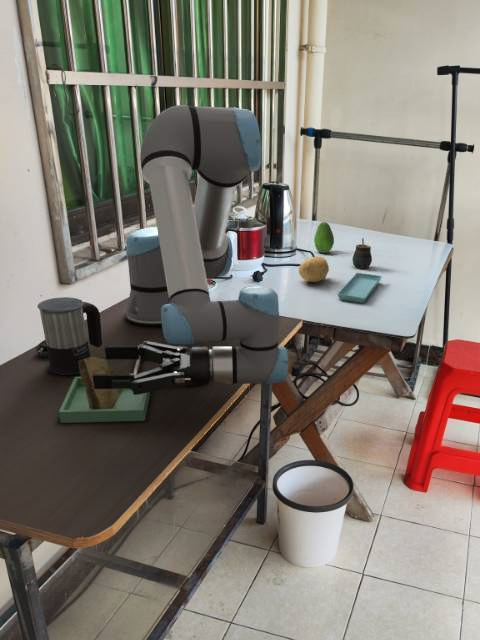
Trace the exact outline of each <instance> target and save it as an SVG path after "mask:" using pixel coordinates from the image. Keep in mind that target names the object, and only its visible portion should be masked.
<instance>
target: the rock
mask: <svg viewBox="0 0 480 640" xmlns="http://www.w3.org/2000/svg"><path fill="white" fill-rule="evenodd" d="M78 363H79V368H80V374H79V375H80V377H82V380H83V382H84V385H85V388H86V395H87V400H88V404H89V407H90V408H91V409H92V410H95V409H110V408H112V407H113V406H114V405H115V403H116V402H117V399H118V396H119V392H120V391H121V390H122V389H94V383H93V374H116V372H115V371H114V370H113V369H112V367H110V365H109V363H108V360H106V359H103V358H100V357H96V356H91V357H89V358H87V359H82V360H80V361H78Z"/></svg>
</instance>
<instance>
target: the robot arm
mask: <svg viewBox="0 0 480 640" xmlns="http://www.w3.org/2000/svg"><path fill="white" fill-rule="evenodd" d="M261 140H262V139H261V133H260V127H259V123H258V119H257V117H256V114H254V112H253V111H251V110H249V109H245V108H238V107H236V106H233V107H223V106H222V107H220V106H219V107H218V106H195V105H186V104H178V105H174V106H173V105H172V106H170V107H168V108H166V109H164V110H163V111H160V113H159V114H158V115H157V116H155V118H154V119H153V120H152V121H151V123H150V124H149V126H148V127H147V129H146V131H145V133H144V136H143V139H142V142H141V146H140V154H139V158H140V159H139V160H140V169H141V175H142V178H143V180H144V181H145V182H146V183H147V184H149V190H150V195H151V201H152V206H153V212H154V213H153V214H154V218H155V223H156V224H155V225H156V226H152V227H145V228H140V229H137V230H134V231H133V232H130V233H129V234H128V235H127V237H126V239H125V242H126V245H125V246H126V251H125V255H126V256H127V265H128V275H129V287H130V292H129V297H128V301H127V304H126V309H125V315H126V316H125V317H126V320H127V321H128V322H130V323H131V324H134V325H137V326H138V325H139V326H143V327H144V326H145V327H161V328H162V333H163V338H164V339H165V341H166V343H168V344H164V343H159V342H153V341H149V340H144V341H143V342H142V343H141V344H139V345H105V346H104V355H105V360H107V361H108V360H109V361H110V360H122V361H123V360H137V359H139V355H140V360H141V359H142V361H143V359H148V361H151V362H153V363H156V364H159V366H158V367H155V368H152V369H149V370H147V371H143V372H140V373H138V374H137V375H133V373H132V372H129V373H115V374H93V383H94V389H131V390H132V391H133V394H134V395H139V394H144V393H148V392H151V393H152V392H156V391H162V390H166V389H170V388H177V387H179V388H180V387H185V386H186V385H185V378H191V383H192V384H194V385H193V386H198V385H197V384H203V385H209V384H210V383H211V382H212V384H213V385H223V386H228V385H236V384H237V385H241V384H242V385H244V384H245V385H246V384H247V385H252V384H253V385H255V384H256V385H257V384H258V385H270V384H271V385H272V384H279V383H284V382H286V380H287V378H288V374H289V356H288V355H289V354H288V351H287V350H288V349H287V348H286V347H285V346H280V345H279V343H278V342H279V341H278V339H279V318H280V312H279V311H280V310H279V309H280V307H279V295H278V293H277V292H276V291H275V290H274V289H272V288H271V287H269V286H263V285H251V286H247V287H243V288H241V289H240V291H239V293H238V299H232V300H231V299H230V300H216V301H213V300H211V297H210V290H209V289H210V288H209V285H208V278H209V279H215V278H219V277H220V278H221V277H225V276H227V275H228V273H229V272H230V270H231V268H232V264H233V256H234V250H233V243H232V239H231V237H230V236H229V234H227V233H226V230H227V227H228V222H229V218H230V214H231V210H232V207H233V202H234V198H235V194H236V191H237V187H238V186H240V185H241V184H243V182H244V181H245V180H246V178H247V175H248V172H251V173H253V172H257V171H259V170H260V168H261V165H262V141H261ZM193 171H196V173H197V174H198V179H197V185H196V192H195V197H194V202H193V198H192V191H191V186H190V181H189V180H190V179H191V177H192V176H193ZM237 340H238V341H239V345H240V346H231V345H230V346H221V345H219V346H217V345H216V346H213V345H212V347H211V349H210V348H209V347H208V346H192V345H194V344H203V343H211V342H212V343H213V342H225V341H227V342H228V341H237ZM176 345H189V346H190V345H191V346H192V347H190V349H189V353H190V354H187V353H188V347H186V346H176ZM172 380H173V381H172Z"/></svg>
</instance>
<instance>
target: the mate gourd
mask: <svg viewBox="0 0 480 640" xmlns="http://www.w3.org/2000/svg"><path fill="white" fill-rule="evenodd" d="M361 243H362V244H356V245H355V250H354V253H353V255H352V258H351V259H352V265H353V266H354V268H356V269H360V270H366V269H368V268H369V267H370V266H371V264H372V262H373V257H372V252H371V251H372V247H371V245H368V244H365V240H364V237H363V238H362V237H361Z"/></svg>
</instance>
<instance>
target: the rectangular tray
mask: <svg viewBox="0 0 480 640" xmlns="http://www.w3.org/2000/svg"><path fill="white" fill-rule="evenodd" d="M382 277H383V276H382V275H377V274H370V273H364V272H363V273H362V272H356V273H354V275H353V276H352V277H351V278H350V280H349V281H347V283H346V284H345V285H343V287H342V288H340V290H339V291H338V292H337V296H338V298H339V299H340V301H347V302H353V303H360V304H363V303H364V302H365V301H366V300H367V298H368V297H369V296H370V294H371V293H372V292H373V290H374V289H375V288H376V286H377V285H378V284H379V282H380V281H381V279H382Z"/></svg>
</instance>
